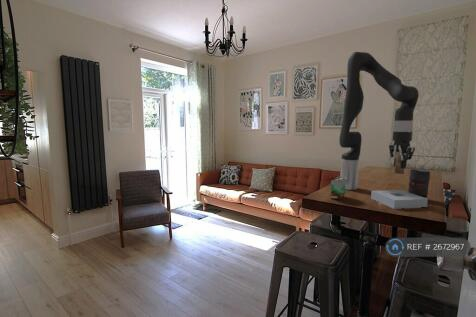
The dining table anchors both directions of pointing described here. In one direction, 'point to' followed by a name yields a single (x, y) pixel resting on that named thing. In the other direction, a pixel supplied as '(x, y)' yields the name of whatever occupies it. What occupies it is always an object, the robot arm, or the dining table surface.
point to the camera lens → (419, 182)
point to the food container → (338, 188)
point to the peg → (398, 164)
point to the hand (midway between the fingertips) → (399, 167)
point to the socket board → (399, 199)
